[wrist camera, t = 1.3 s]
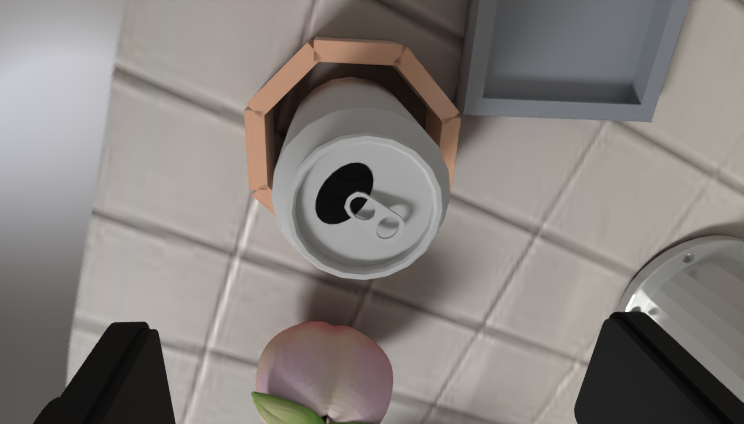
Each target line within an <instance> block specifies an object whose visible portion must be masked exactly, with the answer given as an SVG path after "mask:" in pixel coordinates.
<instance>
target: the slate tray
mask: <svg viewBox="0 0 744 424" xmlns="http://www.w3.org/2000/svg"><path fill="white" fill-rule="evenodd" d="M689 2H690V0H469V1H468V8H467V16H466V23H465V31H464V39H463V46H462V54H461V61H460V69H459V76H458V84H457V92H456V99H455V107H456V108H457V110H458V111H459V112H460V113H461V114H463V115H480V116H507V117H534V118H560V119H587V120H614V121H640V122H651V120H652V117H653V114H654V111H655V108H656V105H657V102H658V99H659V96H660V92H661V89H662V86H663V83H664V80H665V77H666V74H667V71H668V68H669V64H670V61H671V58H672V55H673V52H674V49H675V46H676V43H677V40H678V36H679V33H680V30H681V27H682V24H683V21H684V18H685V15H686V11H687V8H688V5H689Z"/></svg>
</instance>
